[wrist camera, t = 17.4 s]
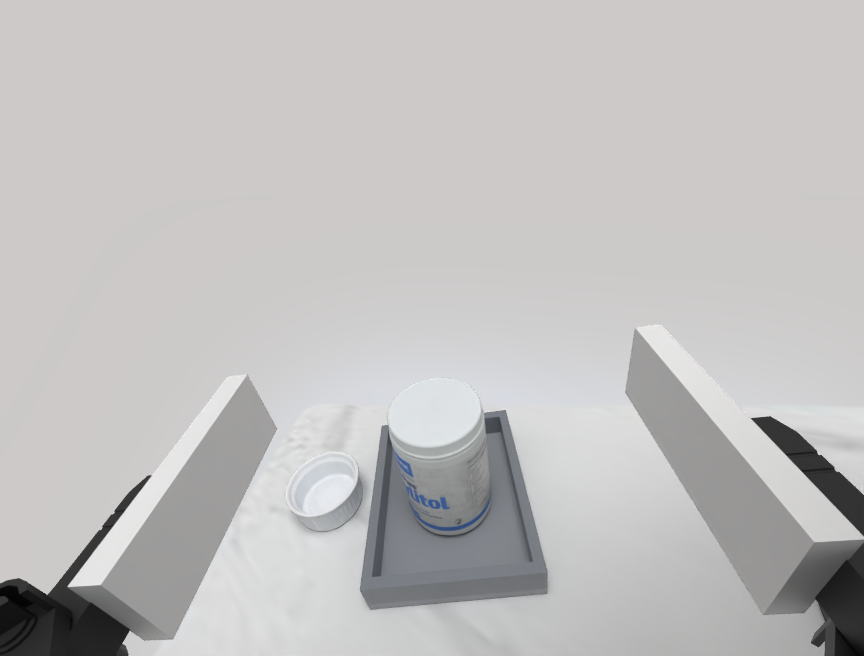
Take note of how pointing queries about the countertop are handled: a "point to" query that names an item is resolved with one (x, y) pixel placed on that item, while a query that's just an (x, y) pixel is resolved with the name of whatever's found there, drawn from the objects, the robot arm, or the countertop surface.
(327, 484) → the ramekin
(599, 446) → the countertop surface
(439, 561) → the tray
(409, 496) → the supplement tub
